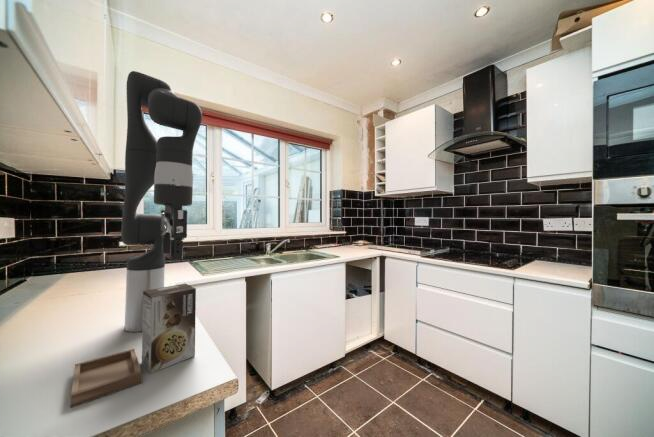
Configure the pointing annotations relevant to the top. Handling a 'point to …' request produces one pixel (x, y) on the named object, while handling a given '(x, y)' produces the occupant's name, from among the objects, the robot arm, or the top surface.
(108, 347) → the top surface
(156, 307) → the coffee box
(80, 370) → the shallow square tray
